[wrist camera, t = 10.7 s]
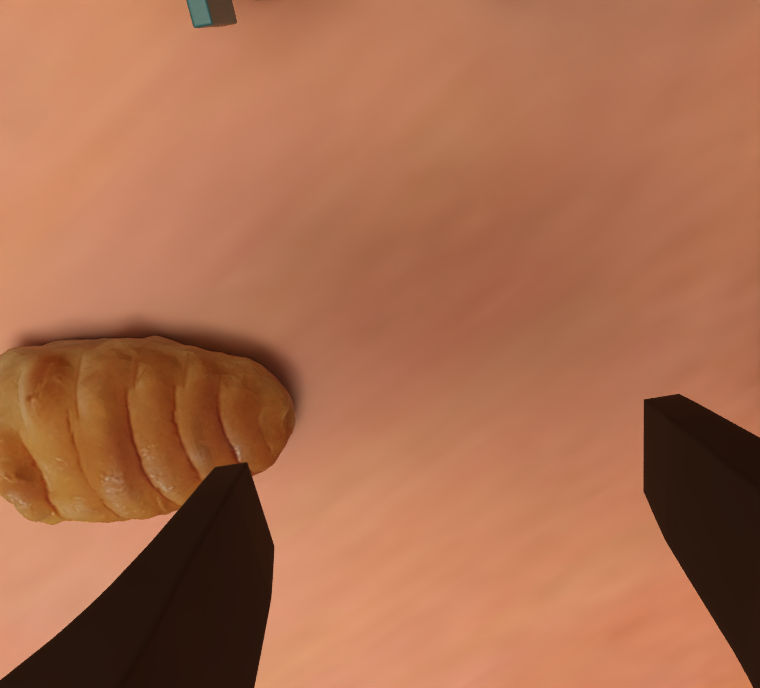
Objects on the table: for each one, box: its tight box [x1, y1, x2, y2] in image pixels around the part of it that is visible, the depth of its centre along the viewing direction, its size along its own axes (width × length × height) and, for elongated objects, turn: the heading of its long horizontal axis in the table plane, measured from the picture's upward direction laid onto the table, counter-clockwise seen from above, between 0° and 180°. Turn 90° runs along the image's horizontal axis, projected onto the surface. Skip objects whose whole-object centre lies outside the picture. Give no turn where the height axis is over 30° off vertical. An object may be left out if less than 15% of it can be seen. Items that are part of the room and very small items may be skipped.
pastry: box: [0, 335, 295, 525], centre depth 22 cm, size 9×7×4 cm
